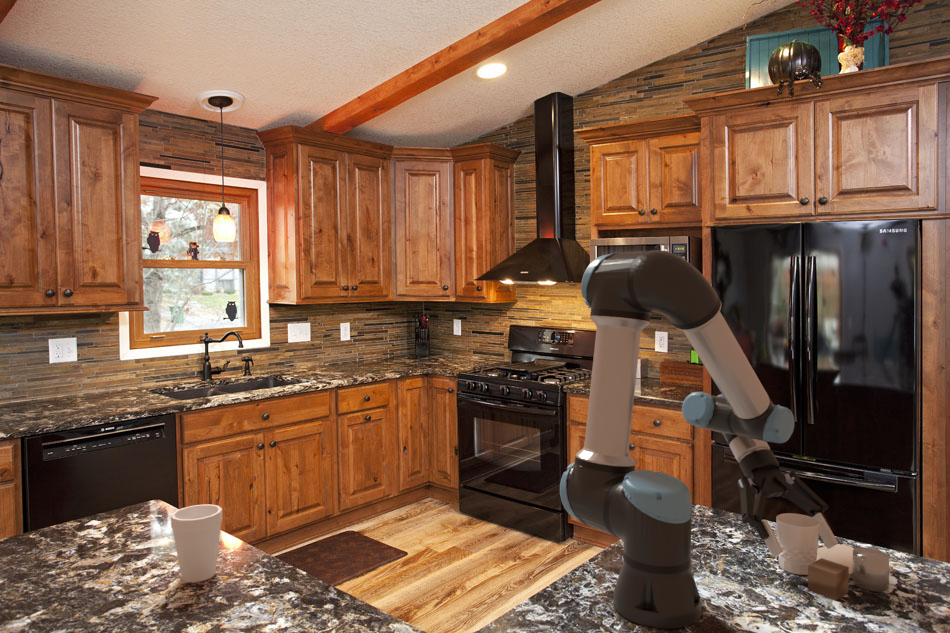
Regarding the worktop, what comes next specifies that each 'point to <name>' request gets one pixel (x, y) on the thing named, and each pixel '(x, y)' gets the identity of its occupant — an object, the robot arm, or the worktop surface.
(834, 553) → the tile
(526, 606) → the worktop surface
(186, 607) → the worktop surface
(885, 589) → the grey tin
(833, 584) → the walnut block
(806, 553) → the white cup
